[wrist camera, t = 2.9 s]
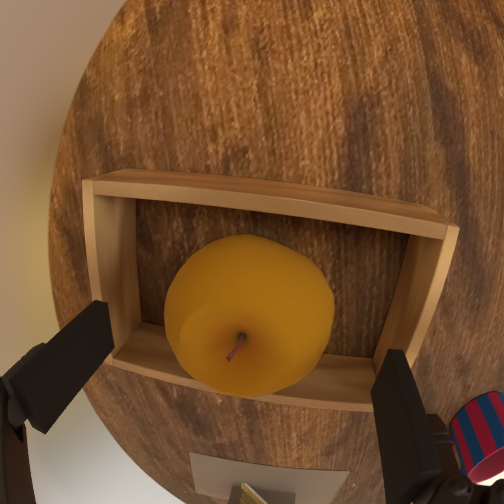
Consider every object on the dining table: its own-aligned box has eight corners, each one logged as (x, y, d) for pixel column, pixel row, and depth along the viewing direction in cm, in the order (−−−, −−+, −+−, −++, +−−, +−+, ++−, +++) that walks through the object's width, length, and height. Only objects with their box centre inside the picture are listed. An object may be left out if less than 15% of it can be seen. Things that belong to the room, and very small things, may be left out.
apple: (334, 217, 19) (356, 279, 11) (319, 335, 22) (321, 432, 14) (197, 209, 20) (128, 260, 12) (202, 323, 23) (156, 409, 15)
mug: (505, 414, 23) (525, 458, 16) (427, 454, 26) (437, 503, 19) (504, 380, 21) (530, 429, 15) (415, 427, 24) (428, 483, 18)
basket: (126, 168, 20) (81, 179, 15) (426, 205, 18) (460, 227, 13) (134, 327, 24) (104, 363, 20) (378, 366, 22) (389, 413, 18)
